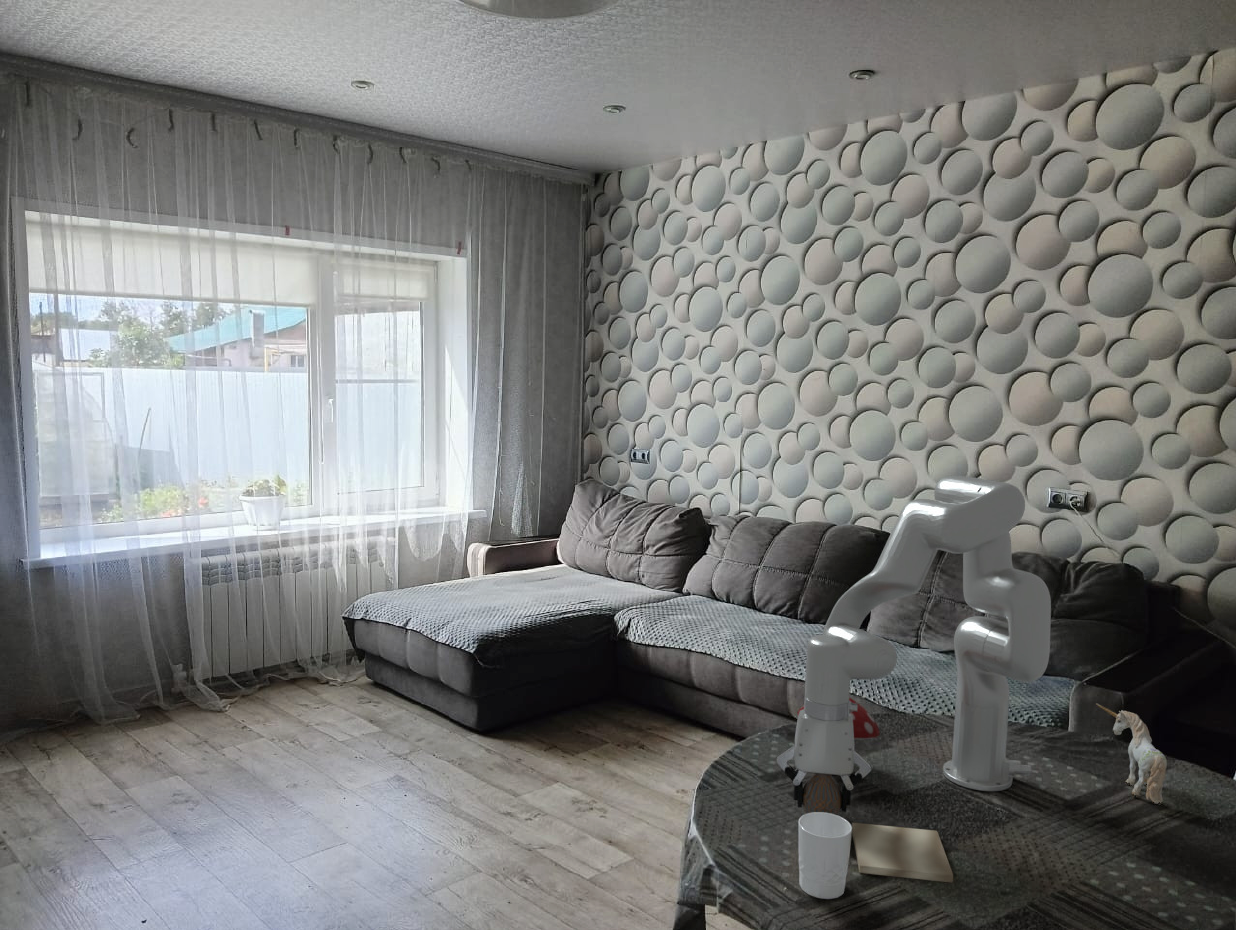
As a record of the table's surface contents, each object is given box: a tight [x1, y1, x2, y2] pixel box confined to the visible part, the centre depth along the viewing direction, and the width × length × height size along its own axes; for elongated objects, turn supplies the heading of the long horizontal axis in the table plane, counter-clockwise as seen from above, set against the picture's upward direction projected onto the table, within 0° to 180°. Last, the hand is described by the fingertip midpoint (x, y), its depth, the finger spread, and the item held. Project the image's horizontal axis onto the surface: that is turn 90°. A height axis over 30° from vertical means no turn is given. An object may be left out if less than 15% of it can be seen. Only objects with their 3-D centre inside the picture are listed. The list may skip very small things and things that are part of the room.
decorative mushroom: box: [796, 696, 881, 741], centre depth 182 cm, size 16×16×15 cm
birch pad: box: [851, 822, 954, 883], centre depth 151 cm, size 14×14×1 cm
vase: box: [802, 773, 842, 816], centre depth 162 cm, size 7×7×9 cm
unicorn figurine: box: [1095, 703, 1168, 804], centre depth 176 cm, size 7×20×13 cm, turn 4°
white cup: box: [797, 812, 853, 900], centre depth 140 cm, size 8×8×10 cm
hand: (821, 805), depth 162 cm, fingers closed on vase, 7 cm apart
